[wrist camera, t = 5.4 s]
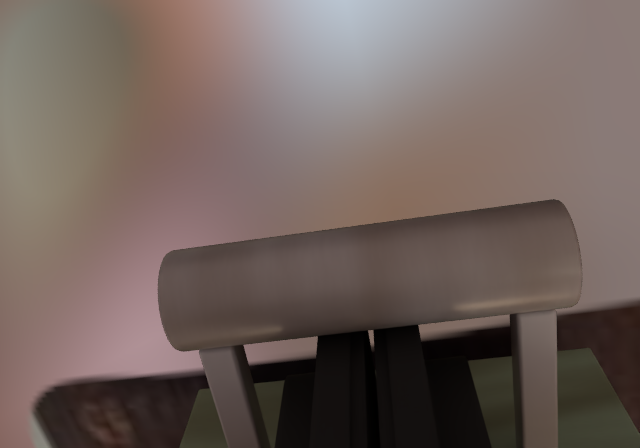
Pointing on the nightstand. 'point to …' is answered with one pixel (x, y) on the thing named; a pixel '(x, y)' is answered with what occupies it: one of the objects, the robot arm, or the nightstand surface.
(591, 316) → the nightstand surface
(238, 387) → the drawer
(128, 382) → the nightstand surface
